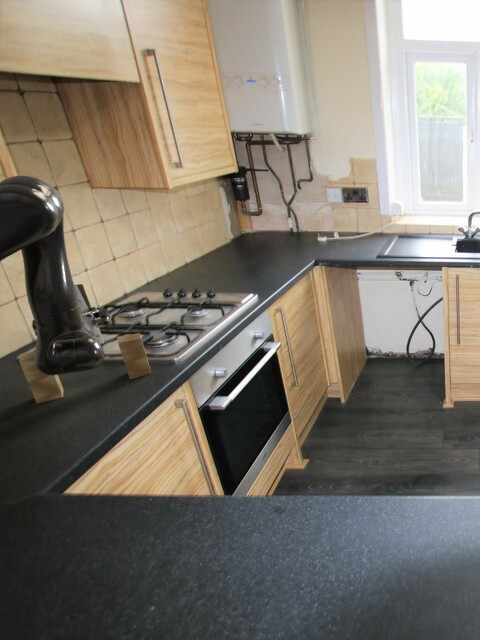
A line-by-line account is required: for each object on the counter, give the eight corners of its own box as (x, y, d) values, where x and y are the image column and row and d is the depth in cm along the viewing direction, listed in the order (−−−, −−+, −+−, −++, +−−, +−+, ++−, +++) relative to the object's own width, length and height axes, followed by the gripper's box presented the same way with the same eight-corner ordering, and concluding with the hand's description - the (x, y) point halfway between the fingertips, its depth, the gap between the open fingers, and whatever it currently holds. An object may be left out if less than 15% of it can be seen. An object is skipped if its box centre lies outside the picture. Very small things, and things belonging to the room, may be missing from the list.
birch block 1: (36, 403, 119) (18, 360, 114) (38, 395, 122) (20, 353, 118) (63, 397, 122) (46, 355, 117) (63, 390, 125) (47, 349, 121)
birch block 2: (130, 382, 130) (117, 342, 125) (129, 375, 134) (117, 336, 129) (153, 377, 133) (141, 338, 128) (151, 371, 137) (139, 332, 132)
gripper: (106, 311, 112) (104, 294, 124) (23, 324, 104) (29, 305, 115) (115, 340, 115) (113, 321, 127) (36, 354, 107) (41, 333, 118)
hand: (73, 313), depth 121 cm, fingers closed on coffee box, 8 cm apart
